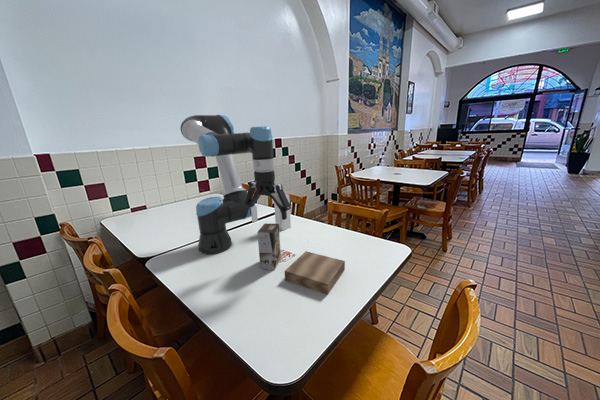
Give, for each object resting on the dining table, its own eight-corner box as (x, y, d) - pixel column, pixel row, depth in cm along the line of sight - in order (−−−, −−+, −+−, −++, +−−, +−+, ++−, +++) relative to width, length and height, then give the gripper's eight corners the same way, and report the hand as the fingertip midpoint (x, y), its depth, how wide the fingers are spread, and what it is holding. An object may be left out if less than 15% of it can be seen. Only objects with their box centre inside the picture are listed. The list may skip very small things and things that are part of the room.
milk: (283, 230, 131) (280, 191, 124) (275, 228, 135) (272, 189, 128) (291, 227, 135) (289, 189, 129) (283, 224, 139) (281, 187, 133)
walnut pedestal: (285, 280, 89) (284, 270, 88) (306, 259, 102) (305, 251, 101) (327, 294, 80) (327, 284, 79) (344, 270, 94) (344, 261, 92)
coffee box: (275, 270, 95) (272, 232, 90) (259, 268, 96) (256, 231, 92) (281, 258, 104) (279, 223, 99) (267, 257, 105) (264, 222, 100)
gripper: (231, 170, 92) (238, 222, 98) (287, 174, 80) (290, 233, 86) (245, 167, 98) (250, 216, 104) (298, 170, 86) (300, 226, 92)
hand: (268, 224), depth 95 cm, fingers open, 13 cm apart
